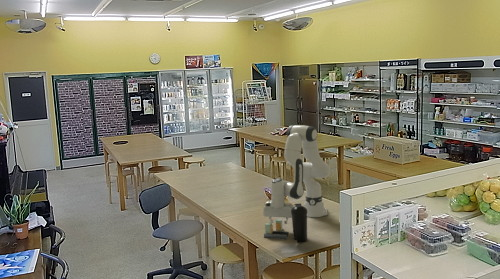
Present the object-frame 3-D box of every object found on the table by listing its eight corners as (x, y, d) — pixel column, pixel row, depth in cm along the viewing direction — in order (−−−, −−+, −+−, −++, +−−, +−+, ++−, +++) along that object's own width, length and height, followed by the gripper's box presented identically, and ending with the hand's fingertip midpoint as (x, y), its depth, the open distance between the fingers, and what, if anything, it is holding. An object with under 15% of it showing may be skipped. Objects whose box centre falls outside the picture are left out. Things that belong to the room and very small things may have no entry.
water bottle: (305, 236, 280) (304, 202, 276) (310, 242, 270) (309, 206, 266) (290, 238, 278) (288, 203, 275) (294, 244, 268) (293, 208, 265)
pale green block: (277, 230, 294) (276, 218, 293) (282, 230, 293) (282, 219, 291) (276, 232, 290) (275, 221, 289) (281, 232, 289) (280, 221, 288)
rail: (267, 234, 288) (267, 229, 288) (289, 235, 283) (289, 230, 283) (263, 239, 279) (263, 235, 278) (286, 241, 274) (285, 236, 273)
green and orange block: (265, 236, 281) (265, 224, 280) (267, 234, 285) (266, 222, 283) (271, 236, 280) (271, 224, 279) (273, 234, 283) (272, 222, 282)
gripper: (294, 202, 288) (295, 222, 290) (264, 201, 294) (265, 220, 296) (292, 205, 282) (293, 225, 284) (262, 203, 288) (263, 223, 290)
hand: (278, 223), depth 290 cm, fingers open, 8 cm apart
